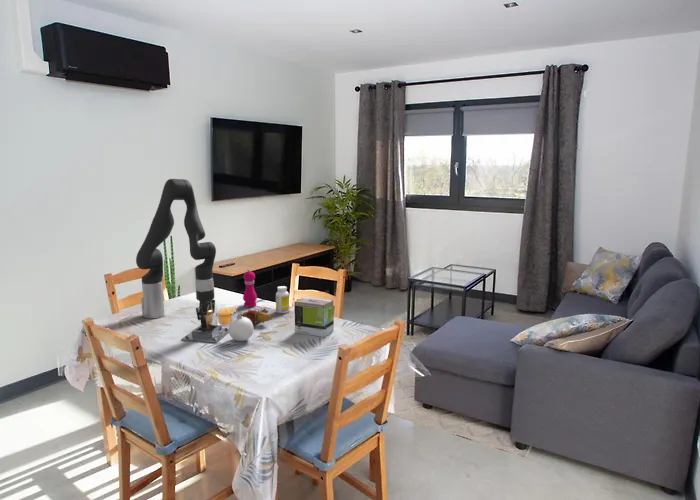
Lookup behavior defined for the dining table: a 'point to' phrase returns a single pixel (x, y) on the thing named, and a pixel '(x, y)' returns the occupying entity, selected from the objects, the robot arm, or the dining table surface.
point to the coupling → (207, 334)
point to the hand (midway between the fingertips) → (206, 325)
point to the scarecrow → (257, 316)
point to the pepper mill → (249, 289)
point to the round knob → (209, 320)
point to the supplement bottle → (282, 300)
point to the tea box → (314, 316)
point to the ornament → (240, 328)
